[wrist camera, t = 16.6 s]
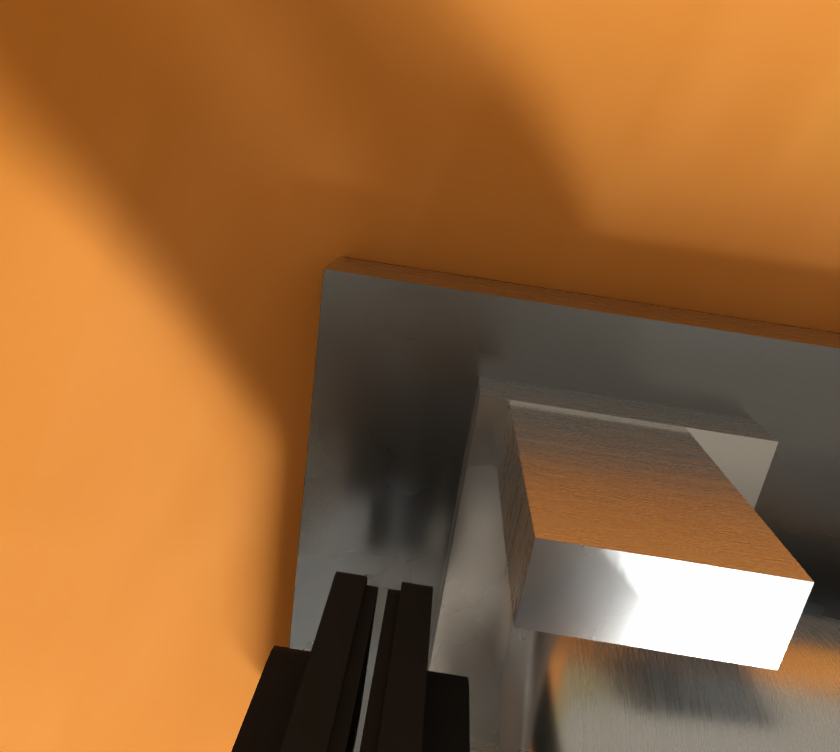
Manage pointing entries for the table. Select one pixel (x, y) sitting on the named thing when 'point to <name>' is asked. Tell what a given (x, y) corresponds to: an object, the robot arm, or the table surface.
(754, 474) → the cylinder mounting fixture
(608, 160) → the table surface
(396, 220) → the table surface
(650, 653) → the banded metal cylinder
